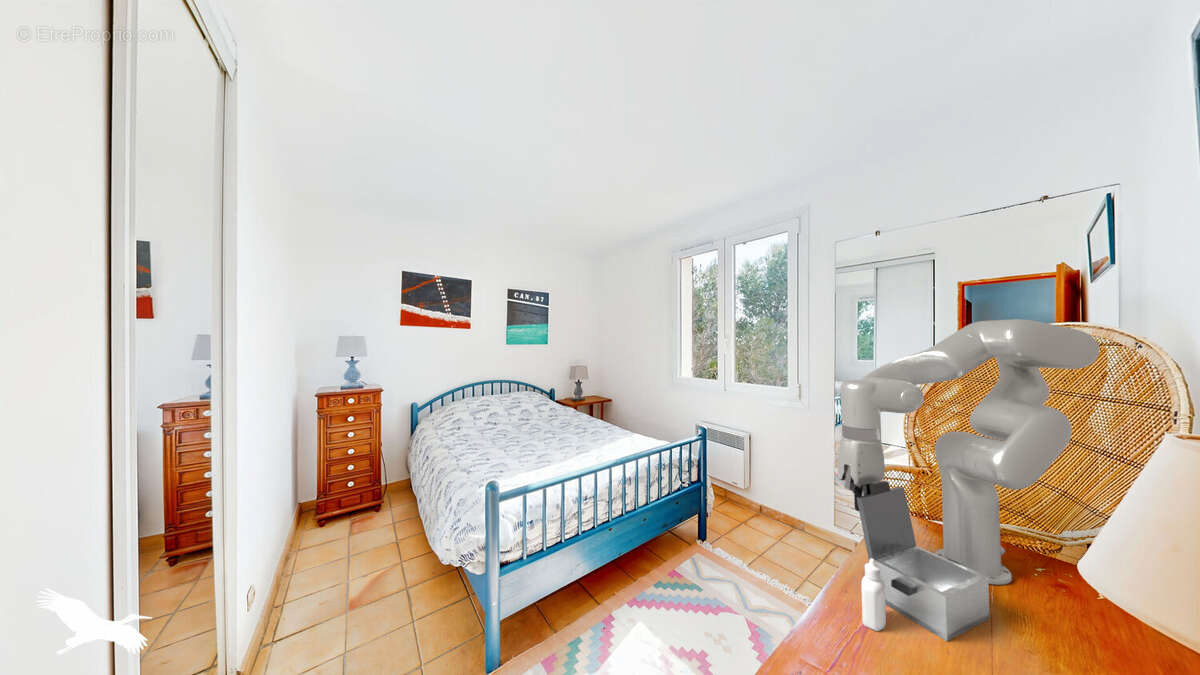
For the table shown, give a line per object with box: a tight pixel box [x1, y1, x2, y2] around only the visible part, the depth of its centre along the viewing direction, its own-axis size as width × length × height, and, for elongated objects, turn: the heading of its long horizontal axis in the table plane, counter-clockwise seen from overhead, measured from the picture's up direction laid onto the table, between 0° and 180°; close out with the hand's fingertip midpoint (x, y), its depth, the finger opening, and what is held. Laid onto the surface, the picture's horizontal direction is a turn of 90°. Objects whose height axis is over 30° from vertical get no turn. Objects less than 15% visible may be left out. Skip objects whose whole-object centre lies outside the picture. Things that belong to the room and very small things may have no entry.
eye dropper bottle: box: [860, 558, 887, 632], centre depth 71 cm, size 4×6×12 cm
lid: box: [857, 480, 917, 561], centre depth 82 cm, size 15×15×1 cm
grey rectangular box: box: [875, 545, 991, 642], centre depth 74 cm, size 19×12×8 cm, turn 111°
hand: (863, 511), depth 86 cm, fingers closed
